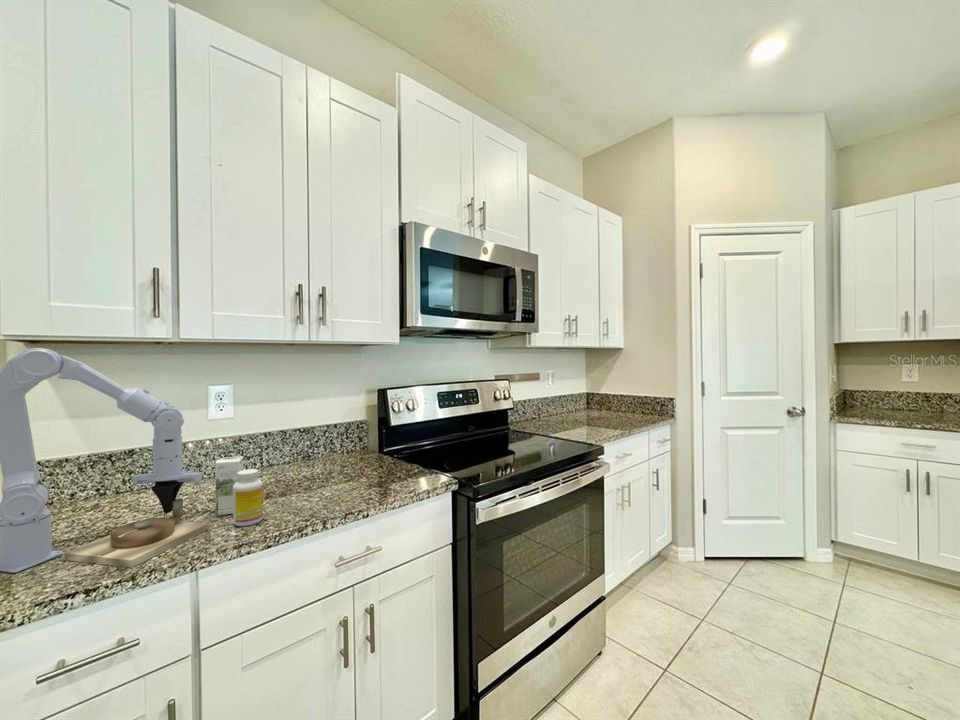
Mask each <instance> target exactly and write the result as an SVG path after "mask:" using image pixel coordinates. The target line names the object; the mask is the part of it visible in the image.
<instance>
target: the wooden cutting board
mask: <svg viewBox="0 0 960 720" xmlns="http://www.w3.org/2000/svg"><path fill="white" fill-rule="evenodd" d="M206 530H207V531H209V523H204V522H194V521H193V522H192V521H183V520H182V521H181V520H179V521H177V522H175V523H174V532H173V533H172V534H170V535H169V536H167V537H165V538H163V539H160V540H158V541H155V542H152V543H148V544H144V545H140V546H134V547H125V548H120V547H113V546H112V545H111V534H109V535H107V536H104V537H101V538H99V539H96V540H94V541H91V542H88V543H86V544H83V545H82V546H78V547H76V548H74V549H71V550H68V551H66V552H63V554H64V557H63V558H64V561H68V562H76V561H77V563H84V562H85V563H86V564H93V563H99V564H98V565H102V564H111V565H117V566H116V567H119V566H121V568H129V569H130V568H131V569H132V568H134V567H136V566H137V565H140V564H142V563H143V562H147V561H148V560H150V559H153V558H154V557H156V556H158V555H161V554H162V553H164V552H167V551H168V550H171V549H172V548H174V547H176V546H178V544H179V545H180V543H181V544H182V542H183V543H184V541H185V542H187V541H189V540H190V538H191V539H193V538H195V537H196V535H197V536H199V535H200V533H201V534H202V532H203V533H205V532H206ZM204 531H205V532H204ZM198 534H199V535H198ZM186 540H187V541H186ZM111 565H110V566H111Z"/></svg>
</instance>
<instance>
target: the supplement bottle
mask: <svg viewBox="0 0 960 720" xmlns="http://www.w3.org/2000/svg"><path fill="white" fill-rule="evenodd" d="M258 476H259V470H258V469H254V468H251V469H250V468H249V469H243V470H242V471H239V472H237V479H238V482H236V483H235V484H234V485H233V514H232V523H233V524H234V525H235V526H237V527H247V526H251V525H255V524H258V523H259V522H260V523H261V521H262V520H263V518H264V497H263V496H264V494H263V493H264V492H263V491H264V490H263V488H264V487H263V481H262V480H261V479H259V478H258Z"/></svg>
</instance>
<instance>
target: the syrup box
mask: <svg viewBox="0 0 960 720" xmlns="http://www.w3.org/2000/svg"><path fill="white" fill-rule="evenodd" d="M242 470H244V456H241V455H240V456H231V457H229V456H227V457H219V458H218V459H217V460H216V461H215V463H214V471H215V472H214V473H215V474H214V476H215V485H214V486H215V516H216V517H221V515H222V516H229V515H228V514H231V515H233V485H234V484H235V483H236V482H238V479H237V472H239V471H242Z"/></svg>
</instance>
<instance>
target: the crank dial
mask: <svg viewBox="0 0 960 720" xmlns="http://www.w3.org/2000/svg"><path fill="white" fill-rule="evenodd" d="M183 516H184V498H182V497H181V498H179V497H178V498H176V499H175V500H173V510H172V516H171V517H165V516H164V517H153V518H152V517H151V518H145V519H141V520H136V521H133V522H130V523H126V524H123V525H122V526H119V527H117V528H115V529H114V530H112V531H111V532H110V535H111V545H112V546H113V547H120V548H125V547H134V546H140V545H144V544H148V543H152V542H155V541H158V540H160V539H163V538H165V537H167V536H169V535H170V534H172V533H173V532H174V523H175V522H177V521H181V519H182V518H181V517H183Z"/></svg>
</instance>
